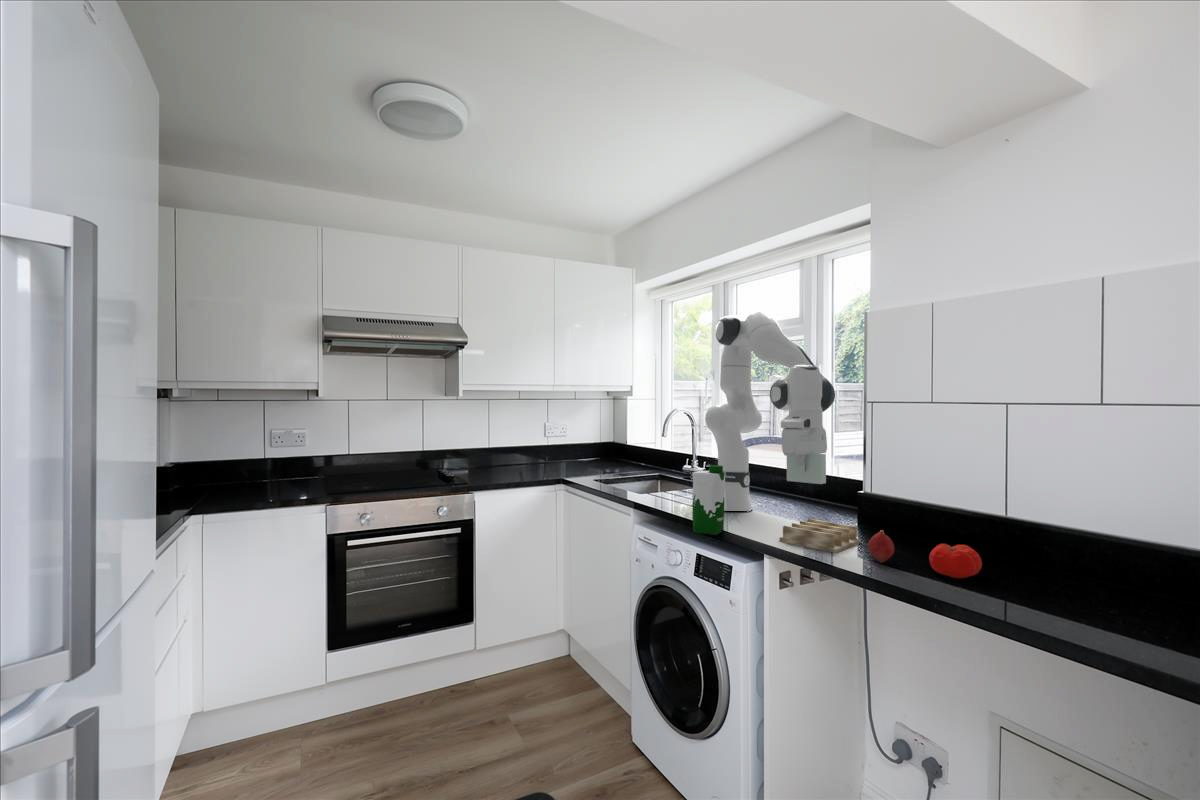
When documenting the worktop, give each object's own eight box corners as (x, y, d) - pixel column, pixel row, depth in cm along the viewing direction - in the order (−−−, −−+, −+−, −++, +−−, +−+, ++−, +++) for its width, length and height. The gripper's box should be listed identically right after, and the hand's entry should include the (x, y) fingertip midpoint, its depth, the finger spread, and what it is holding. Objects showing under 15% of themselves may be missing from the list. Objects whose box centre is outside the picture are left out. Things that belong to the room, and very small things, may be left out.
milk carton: (717, 536, 157) (718, 467, 158) (688, 532, 162) (689, 465, 162) (727, 530, 165) (728, 465, 165) (699, 527, 170) (700, 463, 170)
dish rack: (779, 541, 153) (779, 525, 153) (805, 532, 164) (805, 518, 164) (836, 552, 141) (836, 535, 142) (860, 543, 152) (860, 527, 152)
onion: (862, 560, 135) (862, 528, 135) (879, 558, 137) (880, 526, 137) (882, 566, 130) (882, 533, 130) (899, 564, 132) (900, 531, 132)
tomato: (925, 575, 124) (925, 546, 124) (935, 565, 132) (935, 538, 132) (977, 585, 117) (977, 555, 117) (984, 574, 125) (984, 546, 126)
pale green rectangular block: (786, 480, 155) (786, 452, 155) (791, 480, 157) (791, 452, 157) (821, 484, 147) (820, 454, 148) (825, 483, 149) (825, 454, 150)
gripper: (811, 421, 162) (811, 467, 162) (777, 421, 148) (777, 472, 148) (832, 421, 157) (833, 469, 157) (799, 421, 143) (799, 474, 143)
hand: (805, 470), depth 152 cm, fingers closed on pale green rectangular block, 3 cm apart
